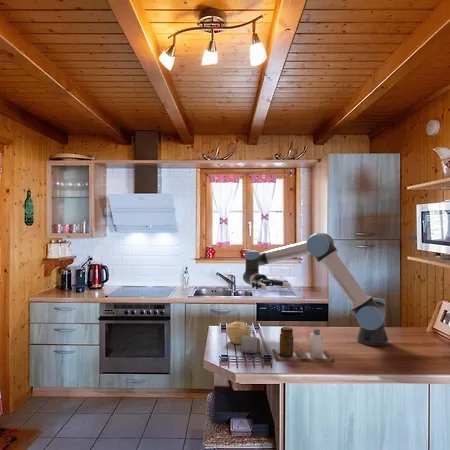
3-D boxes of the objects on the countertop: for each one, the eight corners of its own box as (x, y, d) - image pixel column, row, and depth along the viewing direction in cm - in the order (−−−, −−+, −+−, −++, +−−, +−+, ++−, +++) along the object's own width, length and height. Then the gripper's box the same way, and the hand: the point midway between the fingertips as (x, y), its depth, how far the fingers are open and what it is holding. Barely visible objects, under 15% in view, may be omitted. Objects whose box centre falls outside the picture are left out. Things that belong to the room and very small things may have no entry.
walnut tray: (326, 355, 165) (326, 349, 165) (334, 364, 153) (334, 359, 153) (272, 354, 166) (272, 348, 166) (275, 363, 154) (276, 358, 154)
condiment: (290, 352, 165) (291, 326, 165) (298, 358, 157) (298, 331, 157) (275, 353, 163) (276, 326, 163) (282, 359, 155) (282, 332, 155)
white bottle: (320, 354, 163) (321, 327, 163) (324, 358, 157) (324, 331, 157) (308, 353, 163) (309, 327, 163) (311, 358, 157) (311, 331, 157)
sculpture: (224, 344, 178) (224, 322, 178) (232, 337, 189) (233, 317, 190) (245, 347, 174) (246, 325, 174) (253, 340, 185) (253, 319, 185)
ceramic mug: (258, 356, 163) (258, 339, 163) (240, 354, 164) (241, 337, 164) (260, 348, 173) (260, 333, 173) (243, 347, 175) (244, 331, 175)
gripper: (279, 286, 198) (299, 293, 178) (237, 288, 190) (254, 295, 170) (279, 273, 198) (300, 278, 178) (237, 274, 190) (254, 279, 170)
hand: (277, 286), depth 174 cm, fingers open, 13 cm apart
